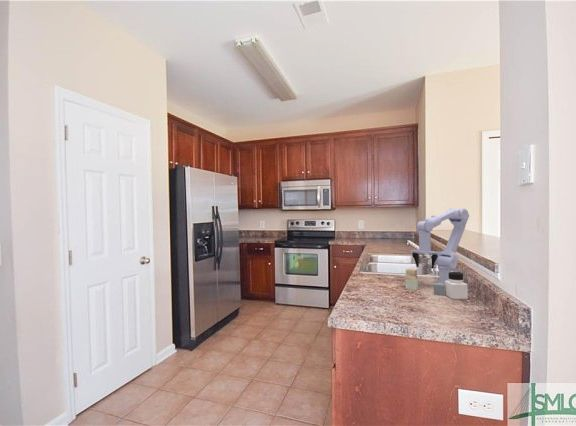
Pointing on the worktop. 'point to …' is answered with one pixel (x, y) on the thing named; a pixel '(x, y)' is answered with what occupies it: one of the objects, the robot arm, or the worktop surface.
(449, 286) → the medicine bottle
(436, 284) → the slate block
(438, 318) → the worktop surface
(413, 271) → the maple block
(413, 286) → the sage block
